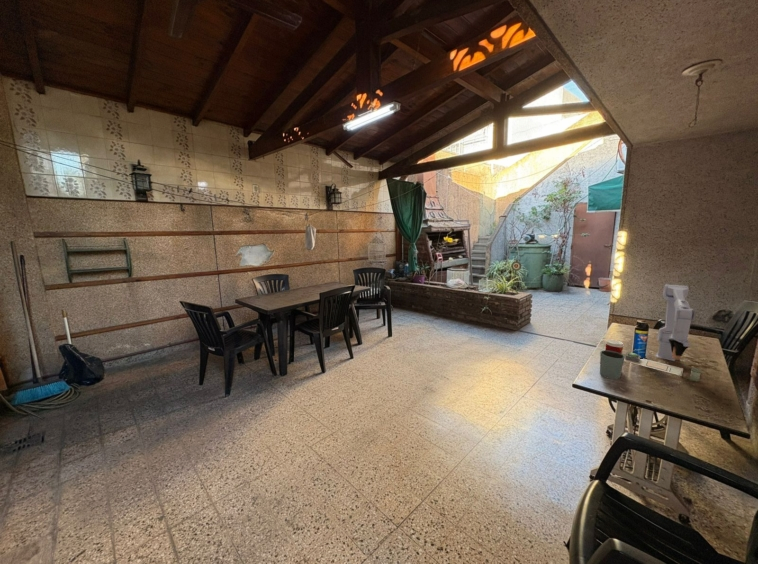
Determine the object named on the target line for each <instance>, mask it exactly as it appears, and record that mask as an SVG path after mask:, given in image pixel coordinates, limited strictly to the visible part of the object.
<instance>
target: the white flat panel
mask: <svg viewBox="0 0 758 564" xmlns="http://www.w3.org/2000/svg"><path fill="white" fill-rule="evenodd" d="M624 362H627V363H631V364H634V365H639V366H641V367H642V366H643V367H646V368H650V369H653V370H657V371H662V372H665V373H669V374H672V375H677V376H679V377H680V378H681V377H682V376H683V371H684V368H683V367H679V366H675V365H671V364H667V363H663V362H659V361H655V360H650V359H646V358H643V359H640V361H639V363H637V362H634V361H630V360H626V359H624Z"/></svg>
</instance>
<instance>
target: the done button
mask: <svg viewBox="0 0 758 564" xmlns="http://www.w3.org/2000/svg"><path fill="white" fill-rule="evenodd" d="M628 353H629V356H631V357H636V358H637V355H638V354H637V353H634V352H628Z"/></svg>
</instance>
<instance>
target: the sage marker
mask: <svg viewBox="0 0 758 564" xmlns="http://www.w3.org/2000/svg"><path fill="white" fill-rule="evenodd" d="M701 373H702V369H700V368H697V367H691V370H690V374H689V375H690V376H689V380H690V381H692V382H696V383H698V382H699V381H700V376H701Z"/></svg>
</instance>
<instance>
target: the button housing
mask: <svg viewBox="0 0 758 564" xmlns="http://www.w3.org/2000/svg"><path fill="white" fill-rule="evenodd" d="M629 353H630V352H627V353H626V355H624V356H625V359H626V360H630V361H634V362H637V363H639V361H640V358H642V356H641V355H639V354H637V358H636V357H631V356H629Z"/></svg>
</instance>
